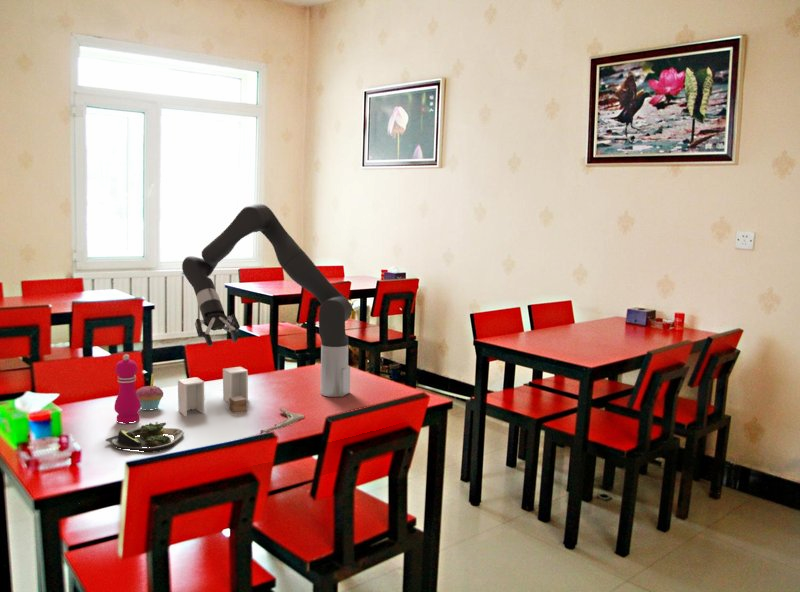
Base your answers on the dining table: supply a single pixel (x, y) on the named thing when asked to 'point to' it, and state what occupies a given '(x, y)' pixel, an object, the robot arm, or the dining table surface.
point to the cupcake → (150, 396)
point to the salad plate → (146, 438)
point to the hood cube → (235, 383)
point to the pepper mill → (127, 391)
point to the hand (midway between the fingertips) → (223, 343)
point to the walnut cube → (237, 404)
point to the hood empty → (190, 395)
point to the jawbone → (291, 419)
